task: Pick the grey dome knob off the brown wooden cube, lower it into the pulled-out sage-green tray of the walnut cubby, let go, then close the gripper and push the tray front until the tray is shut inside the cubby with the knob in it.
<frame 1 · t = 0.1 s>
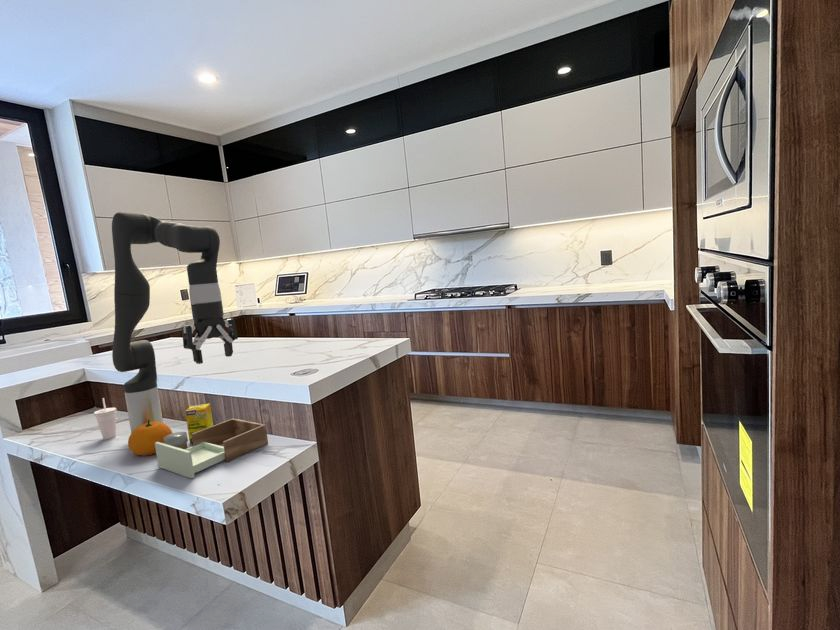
hand: (214, 359, 115), 29 cm above the worktop, fingers open, 8 cm apart
supplement box: (202, 439, 138), on the worktop
fruit: (152, 451, 131), on the worktop
brown wooden cube: (178, 456, 125), on the worktop
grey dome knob: (176, 443, 125), point 4 cm above the worktop, touching brown wooden cube
smoothie: (109, 437, 148), on the worktop
cubby: (228, 449, 127), on the worktop
tray: (195, 450, 119), point 4 cm above the worktop, slide at 9.0 cm
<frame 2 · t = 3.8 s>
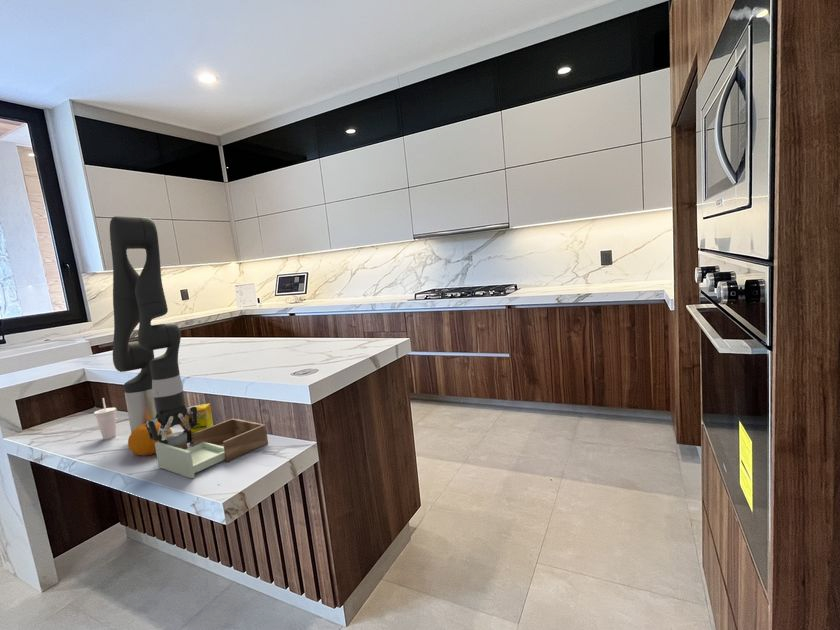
hand: (176, 446, 125), 3 cm above the worktop, fingers closed on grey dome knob, 6 cm apart
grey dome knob: (176, 443, 125), point 4 cm above the worktop, touching gripper, brown wooden cube
everything else where it was.
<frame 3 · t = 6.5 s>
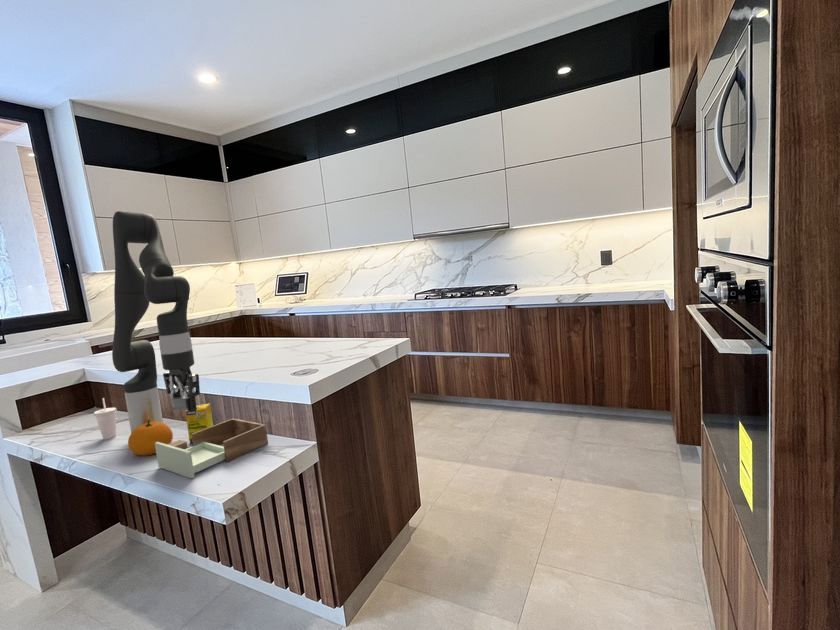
hand: (185, 409, 116), 16 cm above the worktop, fingers closed on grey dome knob, 6 cm apart
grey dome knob: (185, 405, 116), point 17 cm above the worktop, touching gripper
everything else where it was.
when the fingers open (2 cm above the worktop, at t = 9.3 s): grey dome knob drops 2 cm, resting on tray.
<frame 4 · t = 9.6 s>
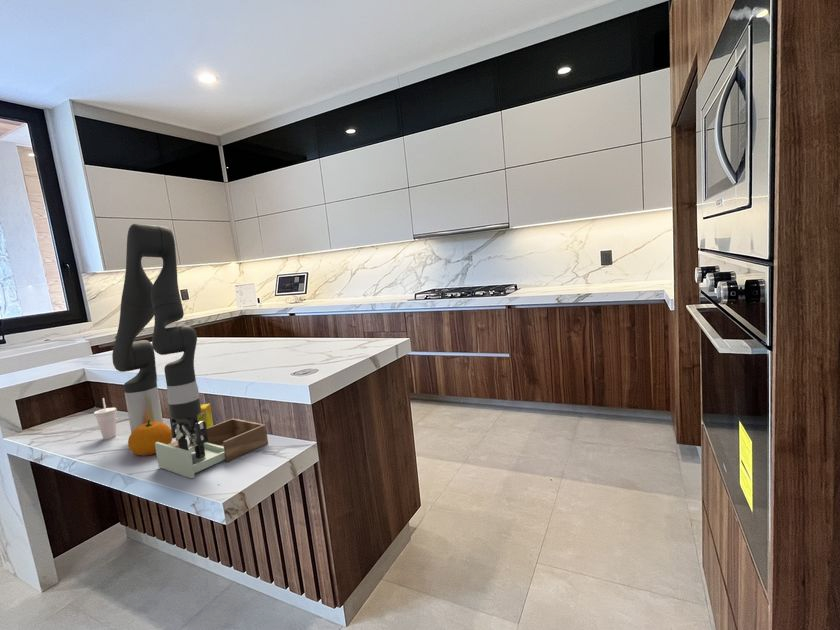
hand: (192, 455, 118), 3 cm above the worktop, fingers open, 8 cm apart
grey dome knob: (193, 460, 118), point 1 cm above the worktop, touching tray
tray: (195, 450, 119), point 4 cm above the worktop, slide at 9.0 cm, touching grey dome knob
everything else where it was.
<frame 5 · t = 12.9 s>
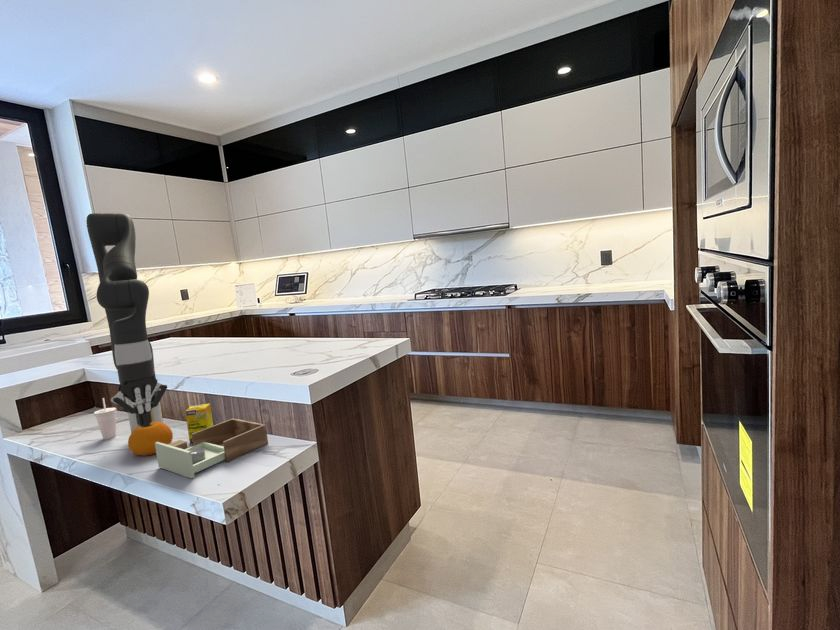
hand: (145, 426, 108), 15 cm above the worktop, fingers closed
nothing on the worktop moved.
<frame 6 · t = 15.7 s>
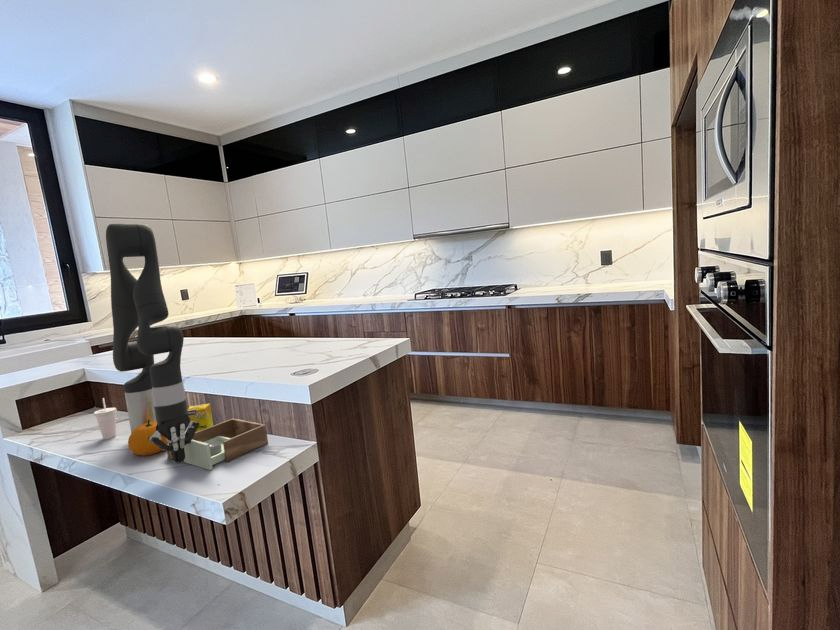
hand: (179, 462, 115), 2 cm above the worktop, fingers closed
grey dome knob: (210, 453, 122), point 1 cm above the worktop, touching tray
tray: (212, 443, 123), point 4 cm above the worktop, slide at 4.0 cm, touching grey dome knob, hand
everything else where it was.
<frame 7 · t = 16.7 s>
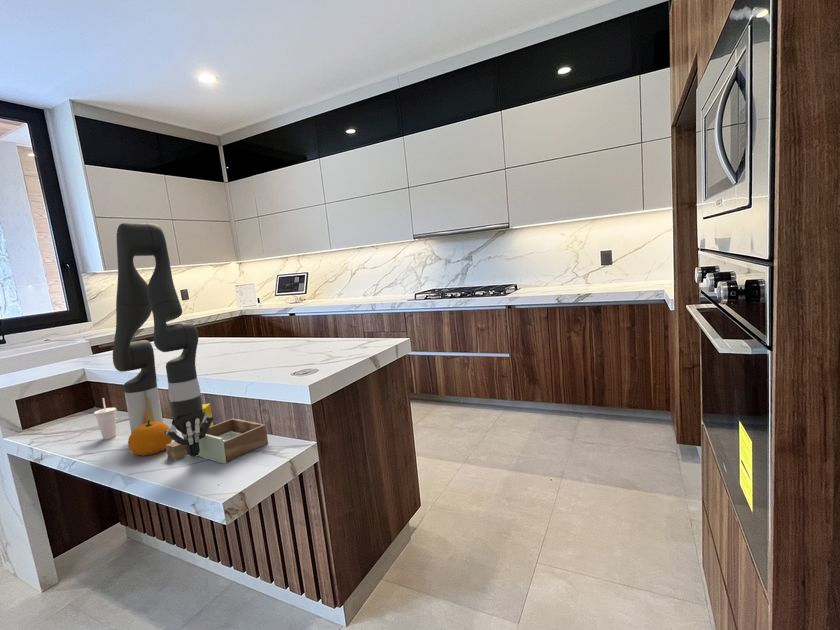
hand: (194, 455, 118), 2 cm above the worktop, fingers closed
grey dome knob: (223, 447, 125), point 1 cm above the worktop, touching tray
tray: (225, 438, 126), point 4 cm above the worktop, slide at 0.0 cm, touching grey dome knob, hand
everything else where it was.
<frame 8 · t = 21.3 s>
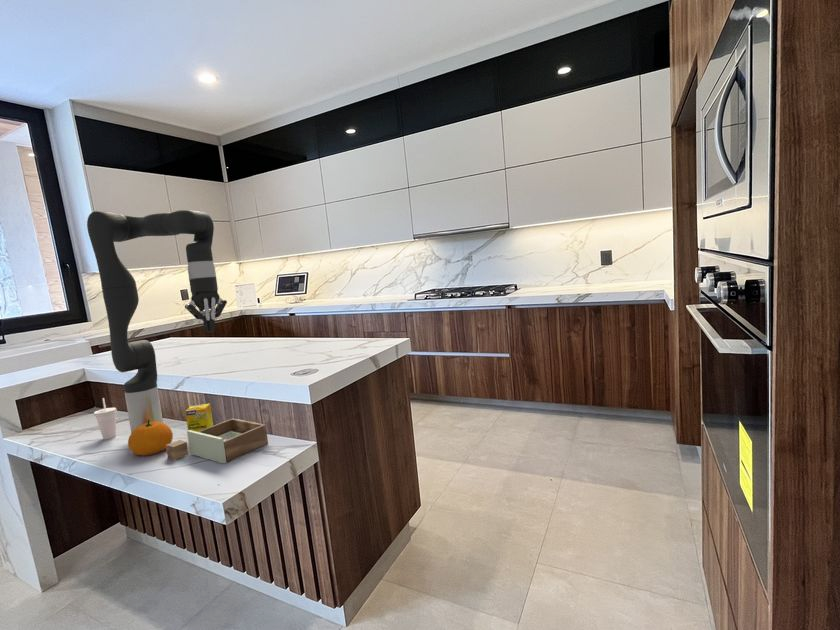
hand: (210, 332, 132), 35 cm above the worktop, fingers closed
tray: (225, 438, 126), point 4 cm above the worktop, slide at 0.0 cm, touching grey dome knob
everything else where it was.
at the end: tray slide at 0.0 cm; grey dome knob inside the target area on the cubby (2.5 cm from its centre), point 1.4 cm above the cubby's base; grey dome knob point 1.4 cm above the worktop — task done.
